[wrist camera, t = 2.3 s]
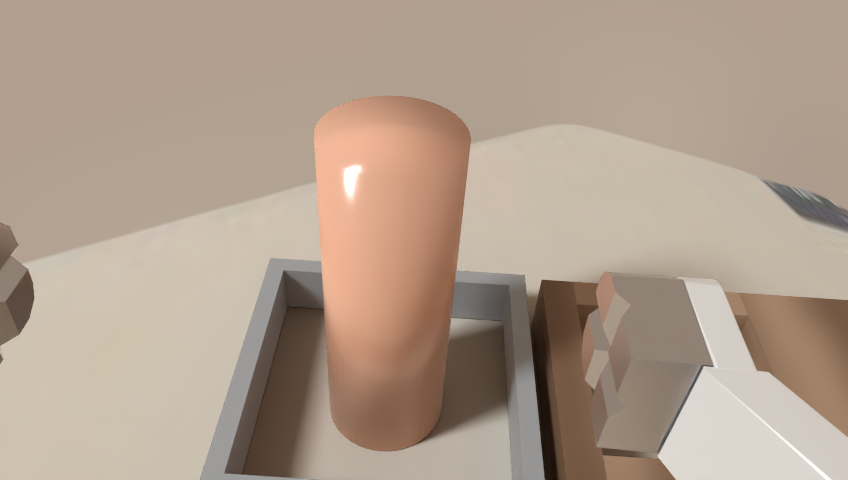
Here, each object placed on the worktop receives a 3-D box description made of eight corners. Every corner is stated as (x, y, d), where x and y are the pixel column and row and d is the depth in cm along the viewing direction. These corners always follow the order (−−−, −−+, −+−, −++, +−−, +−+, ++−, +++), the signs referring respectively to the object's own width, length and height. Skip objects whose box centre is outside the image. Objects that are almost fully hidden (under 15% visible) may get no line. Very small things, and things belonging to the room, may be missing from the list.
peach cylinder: (442, 362, 33) (470, 100, 24) (439, 454, 29) (471, 184, 20) (337, 355, 33) (326, 91, 24) (321, 447, 29) (300, 173, 20)
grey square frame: (517, 310, 36) (524, 275, 35) (537, 549, 27) (548, 515, 25) (274, 294, 36) (270, 258, 35) (206, 526, 27) (195, 491, 25)
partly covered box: (924, 348, 36) (956, 307, 34) (1067, 564, 27) (1121, 526, 25) (532, 322, 36) (541, 279, 34) (553, 530, 27) (567, 488, 25)
